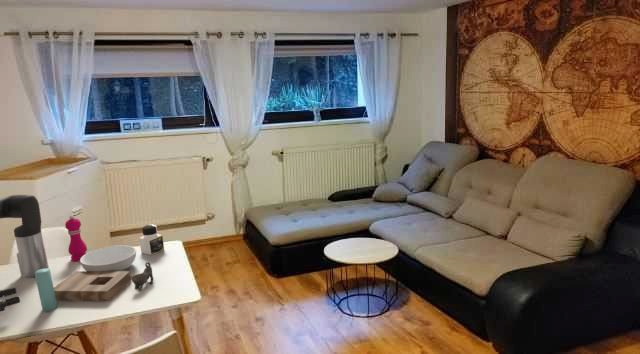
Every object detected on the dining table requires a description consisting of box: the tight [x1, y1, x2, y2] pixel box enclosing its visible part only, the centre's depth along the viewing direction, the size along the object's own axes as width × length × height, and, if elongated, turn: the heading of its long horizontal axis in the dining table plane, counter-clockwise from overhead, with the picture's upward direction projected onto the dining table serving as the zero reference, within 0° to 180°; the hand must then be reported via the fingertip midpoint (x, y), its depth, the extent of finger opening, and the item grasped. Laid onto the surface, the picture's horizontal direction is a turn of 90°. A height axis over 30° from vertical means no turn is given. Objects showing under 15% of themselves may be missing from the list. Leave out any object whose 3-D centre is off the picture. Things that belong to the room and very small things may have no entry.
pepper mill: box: [64, 214, 88, 263], centre depth 205 cm, size 7×7×20 cm
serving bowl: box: [79, 244, 137, 271], centre depth 193 cm, size 21×21×7 cm
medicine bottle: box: [138, 224, 165, 256], centre depth 210 cm, size 7×7×12 cm
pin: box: [34, 268, 59, 313], centre depth 163 cm, size 5×5×14 cm
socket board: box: [53, 270, 132, 303], centre depth 176 cm, size 22×16×4 cm
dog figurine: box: [131, 261, 154, 291], centre depth 177 cm, size 12×6×7 cm, turn 170°
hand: (17, 294), depth 158 cm, fingers open, 8 cm apart
